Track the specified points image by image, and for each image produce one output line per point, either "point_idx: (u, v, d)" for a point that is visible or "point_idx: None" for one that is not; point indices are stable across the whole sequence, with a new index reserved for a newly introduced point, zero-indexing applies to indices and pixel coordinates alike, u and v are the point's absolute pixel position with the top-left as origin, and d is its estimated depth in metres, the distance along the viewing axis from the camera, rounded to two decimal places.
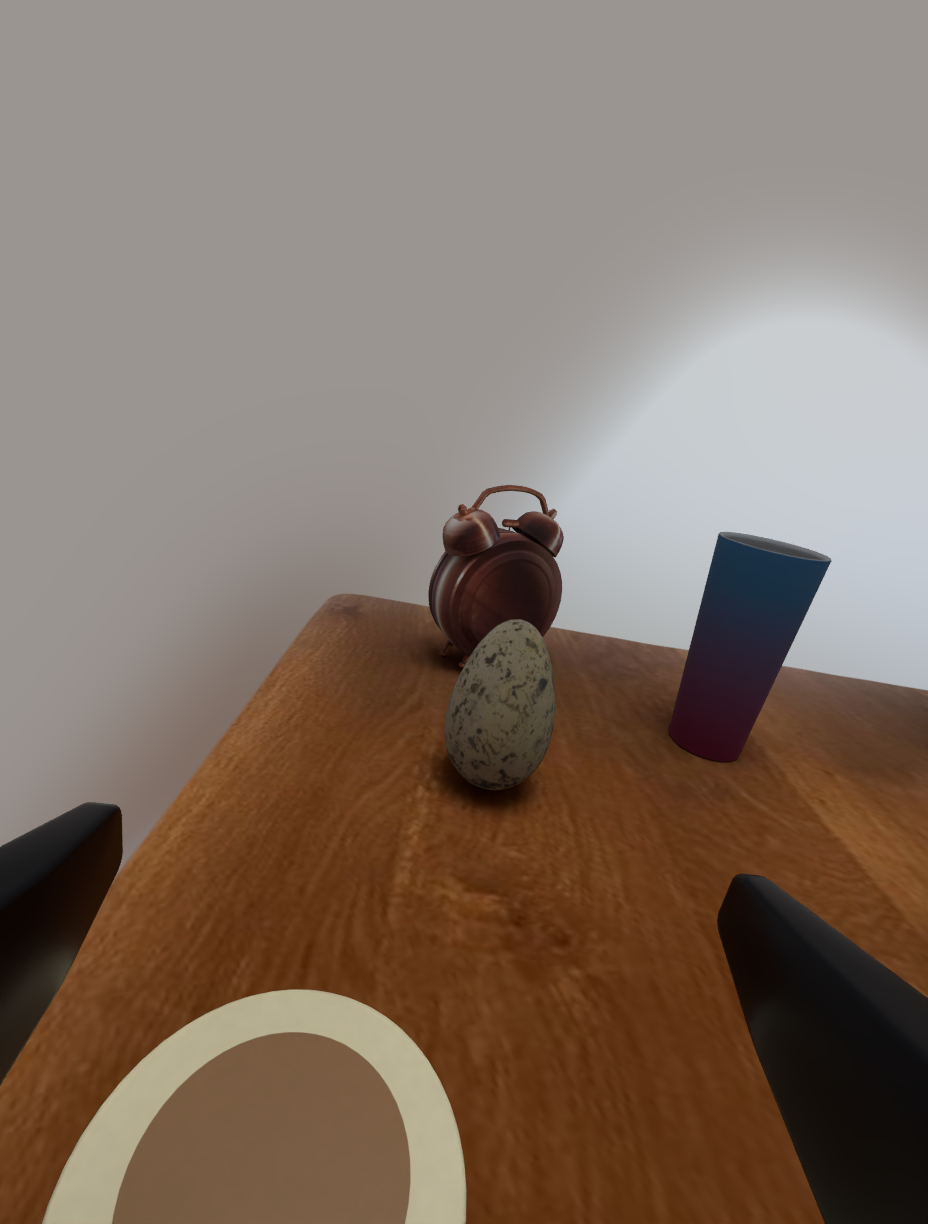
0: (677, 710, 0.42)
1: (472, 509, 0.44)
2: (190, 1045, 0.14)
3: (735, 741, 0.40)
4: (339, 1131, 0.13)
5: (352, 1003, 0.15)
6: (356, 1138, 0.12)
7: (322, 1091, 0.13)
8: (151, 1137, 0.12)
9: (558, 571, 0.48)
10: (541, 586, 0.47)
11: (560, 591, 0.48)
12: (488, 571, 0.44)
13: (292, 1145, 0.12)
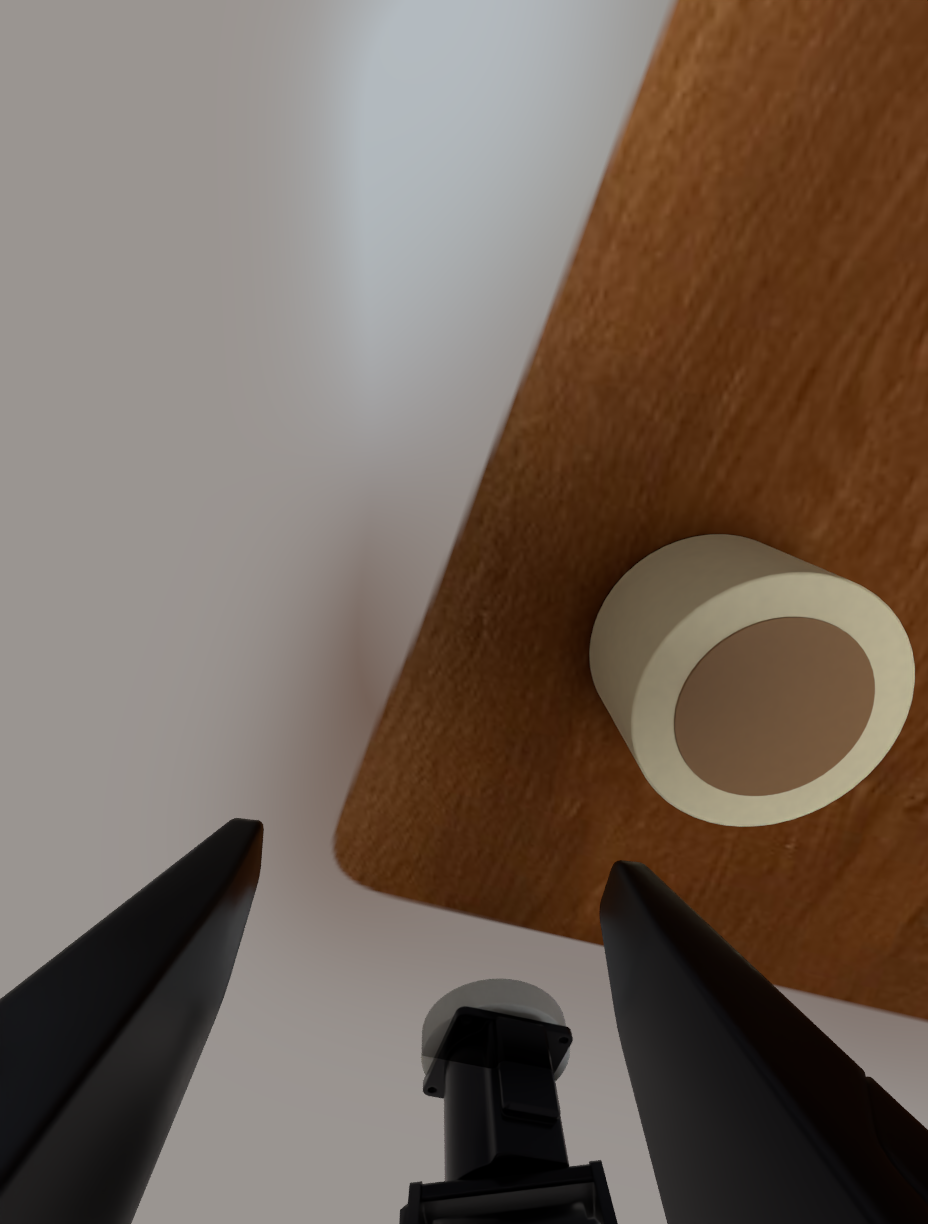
0: None
1: None
2: (733, 608, 0.15)
3: None
4: (825, 697, 0.16)
5: (877, 603, 0.15)
6: (836, 707, 0.16)
7: (824, 671, 0.16)
8: (699, 667, 0.16)
9: None
10: None
11: None
12: None
13: (791, 697, 0.16)
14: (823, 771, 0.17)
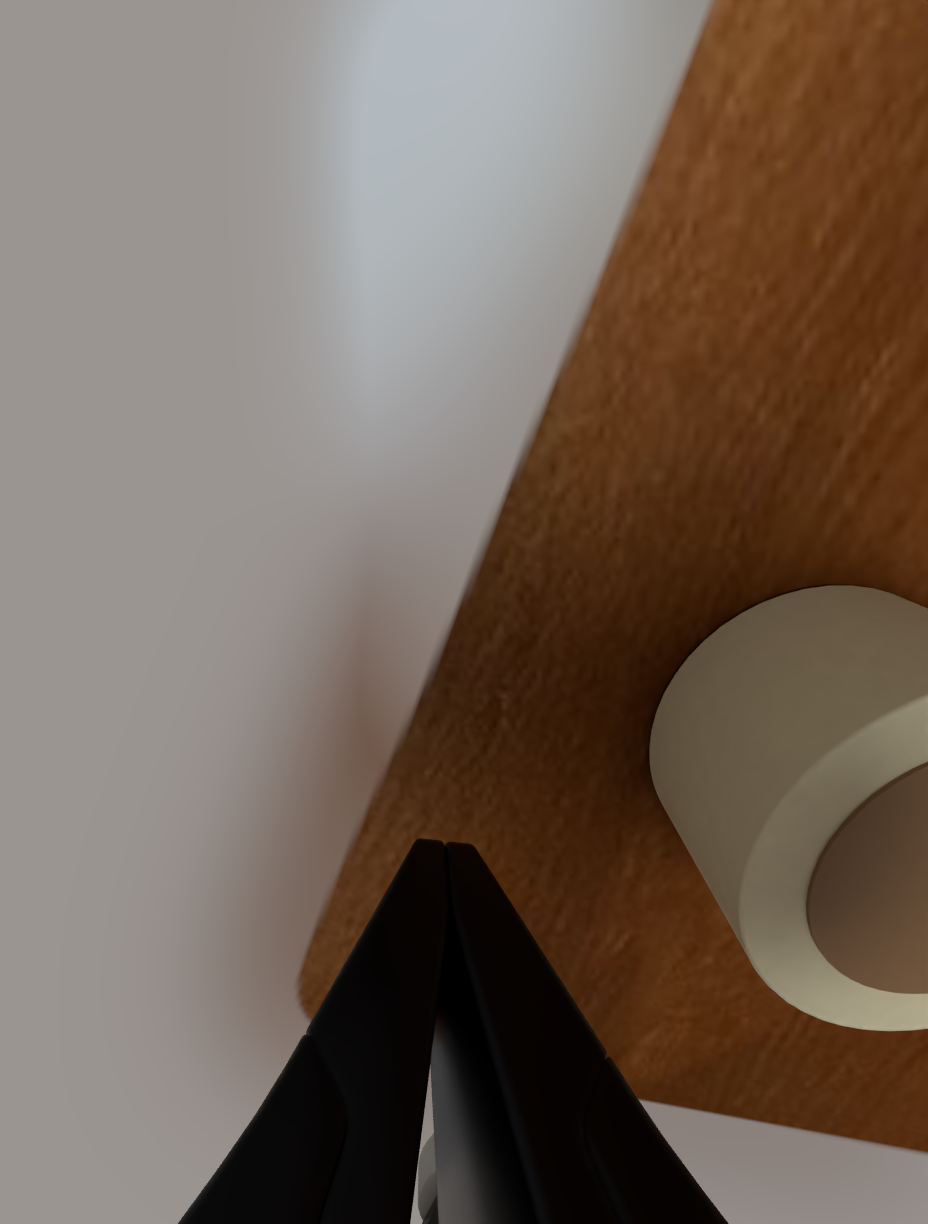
0: None
1: None
2: (920, 730, 0.09)
3: None
4: None
5: None
6: None
7: None
8: (855, 818, 0.10)
9: None
10: None
11: None
12: None
13: None
14: None
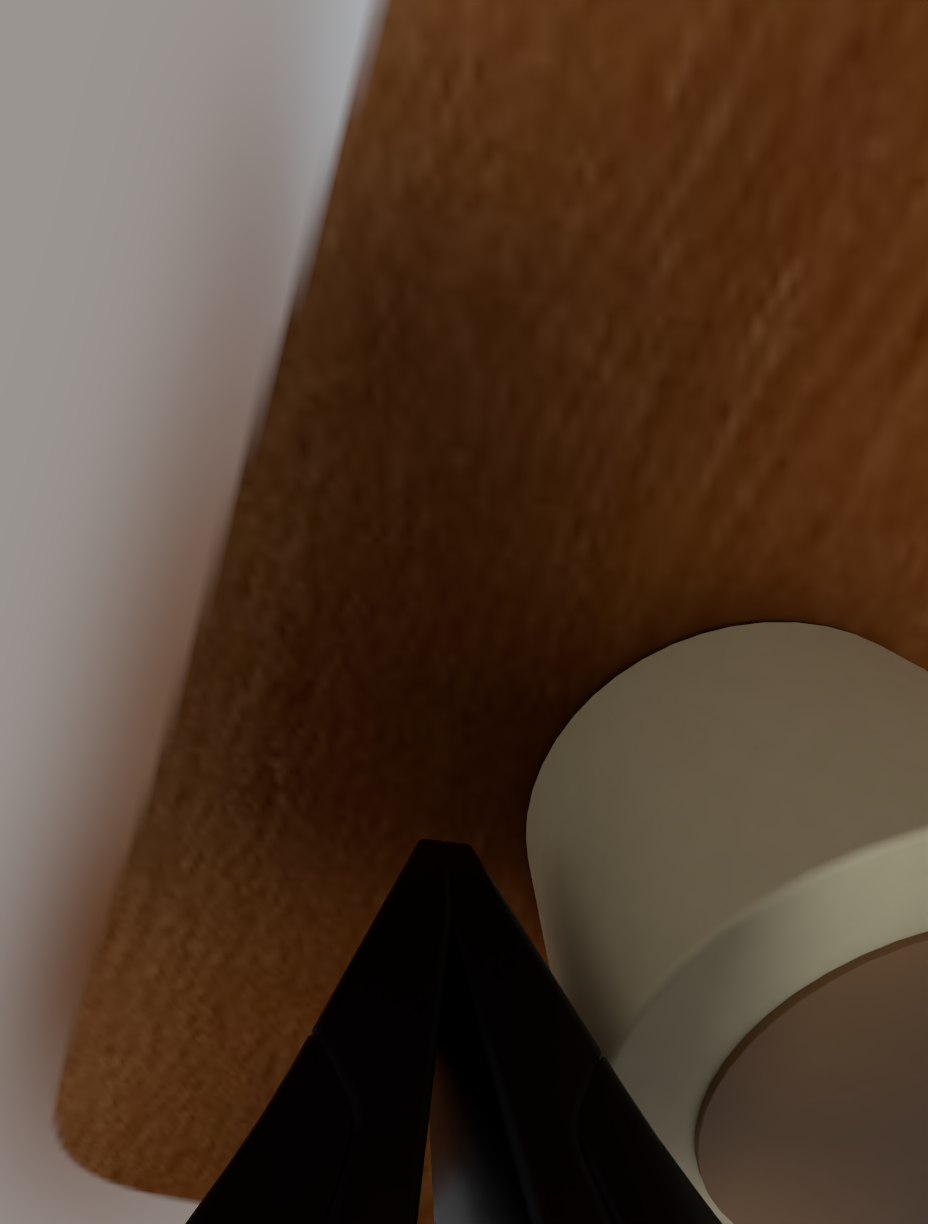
0: None
1: None
2: (872, 897, 0.05)
3: None
4: None
5: None
6: None
7: None
8: (767, 1026, 0.06)
9: None
10: None
11: None
12: None
13: None
14: None
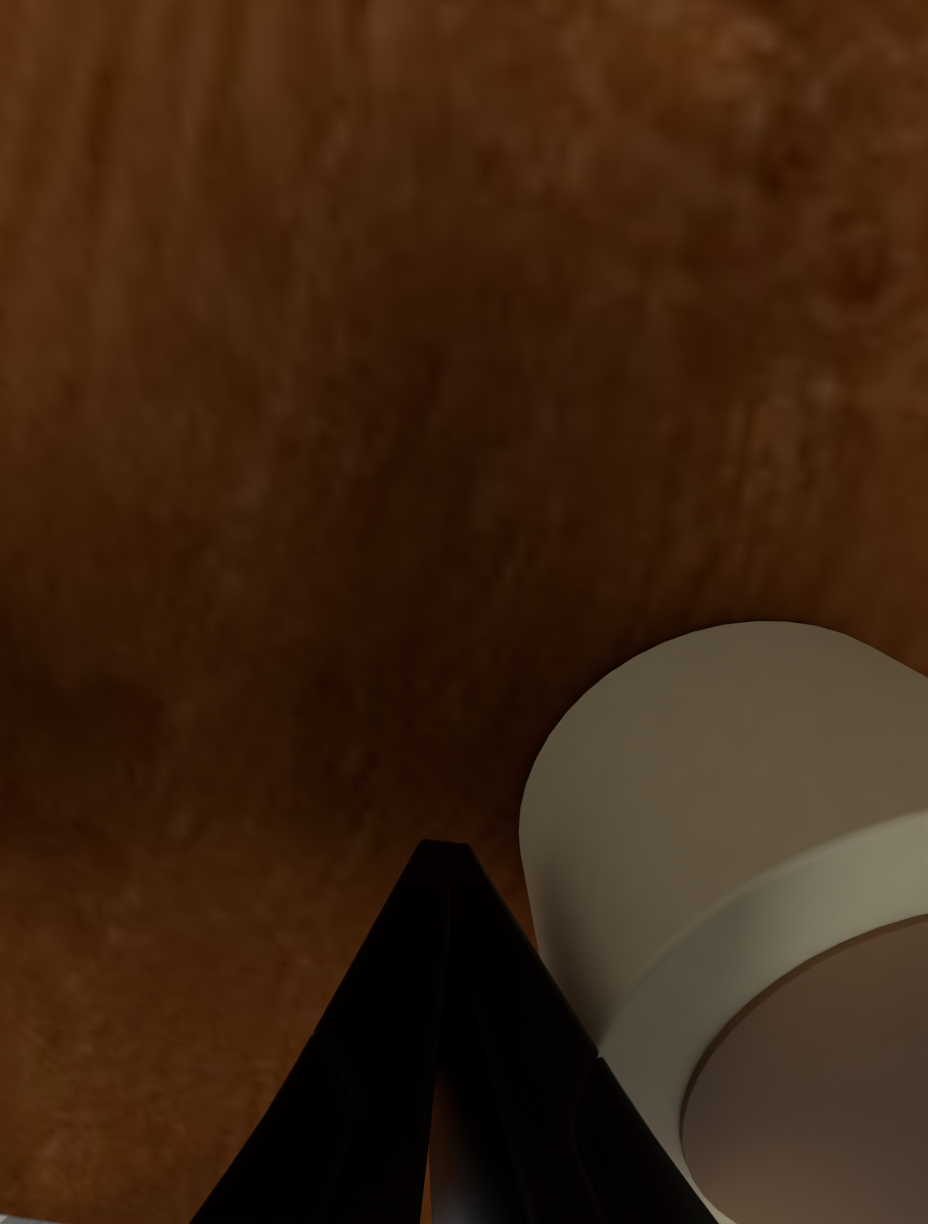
0: None
1: None
2: (853, 884, 0.05)
3: None
4: None
5: None
6: None
7: None
8: (751, 1012, 0.06)
9: None
10: None
11: None
12: None
13: None
14: None
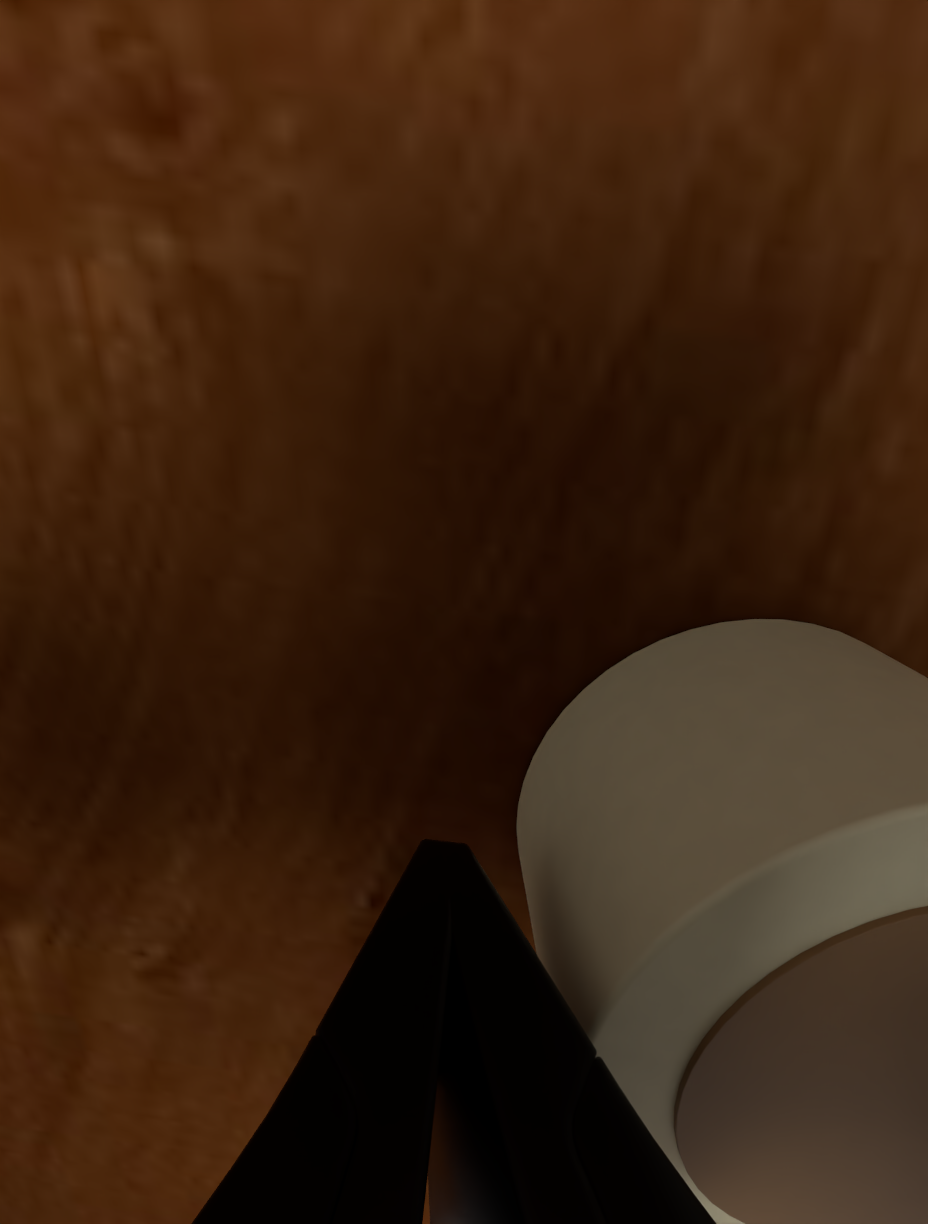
0: None
1: None
2: (845, 878, 0.06)
3: None
4: None
5: None
6: None
7: None
8: (744, 1005, 0.06)
9: None
10: None
11: None
12: None
13: None
14: None
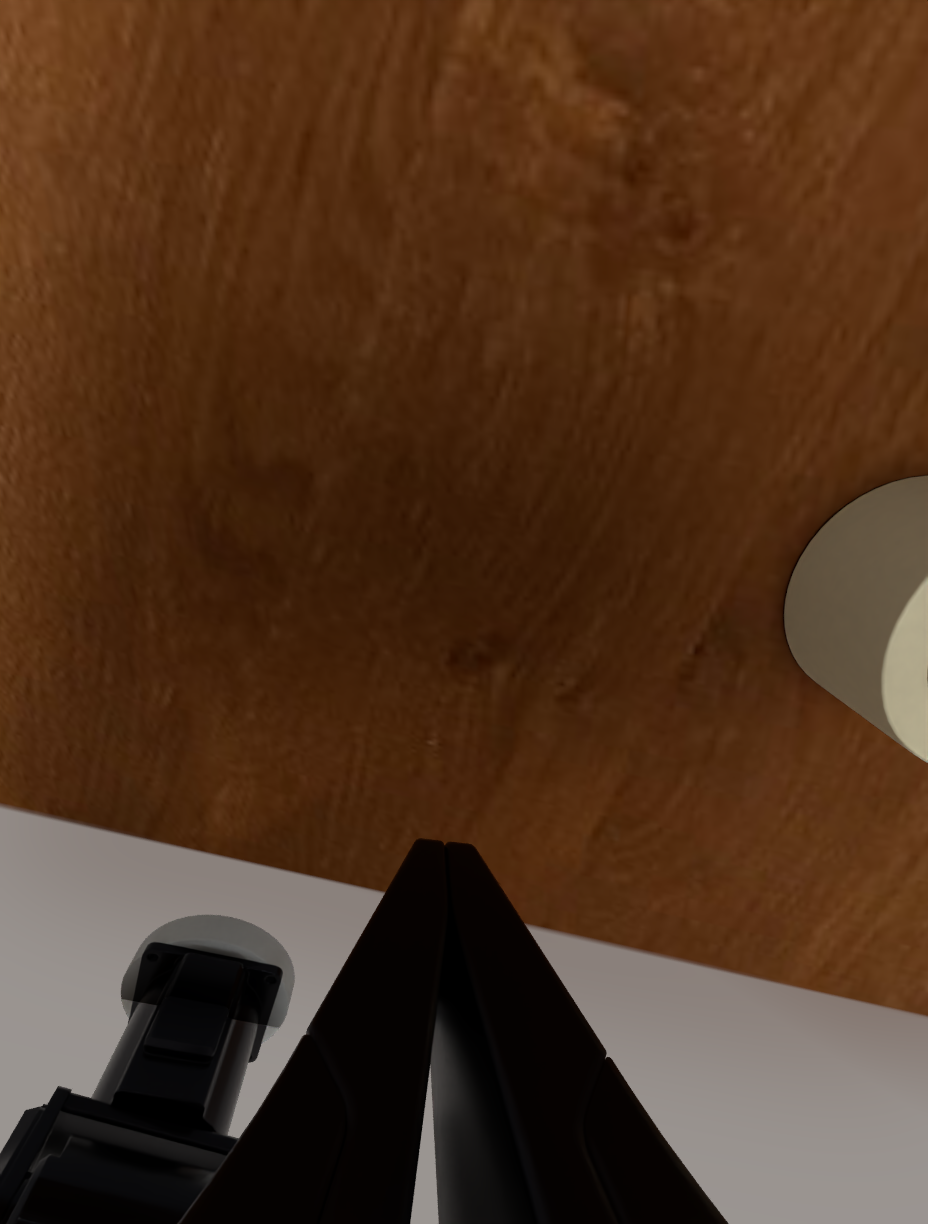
0: None
1: None
2: None
3: None
4: None
5: None
6: None
7: None
8: None
9: None
10: None
11: None
12: None
13: None
14: None
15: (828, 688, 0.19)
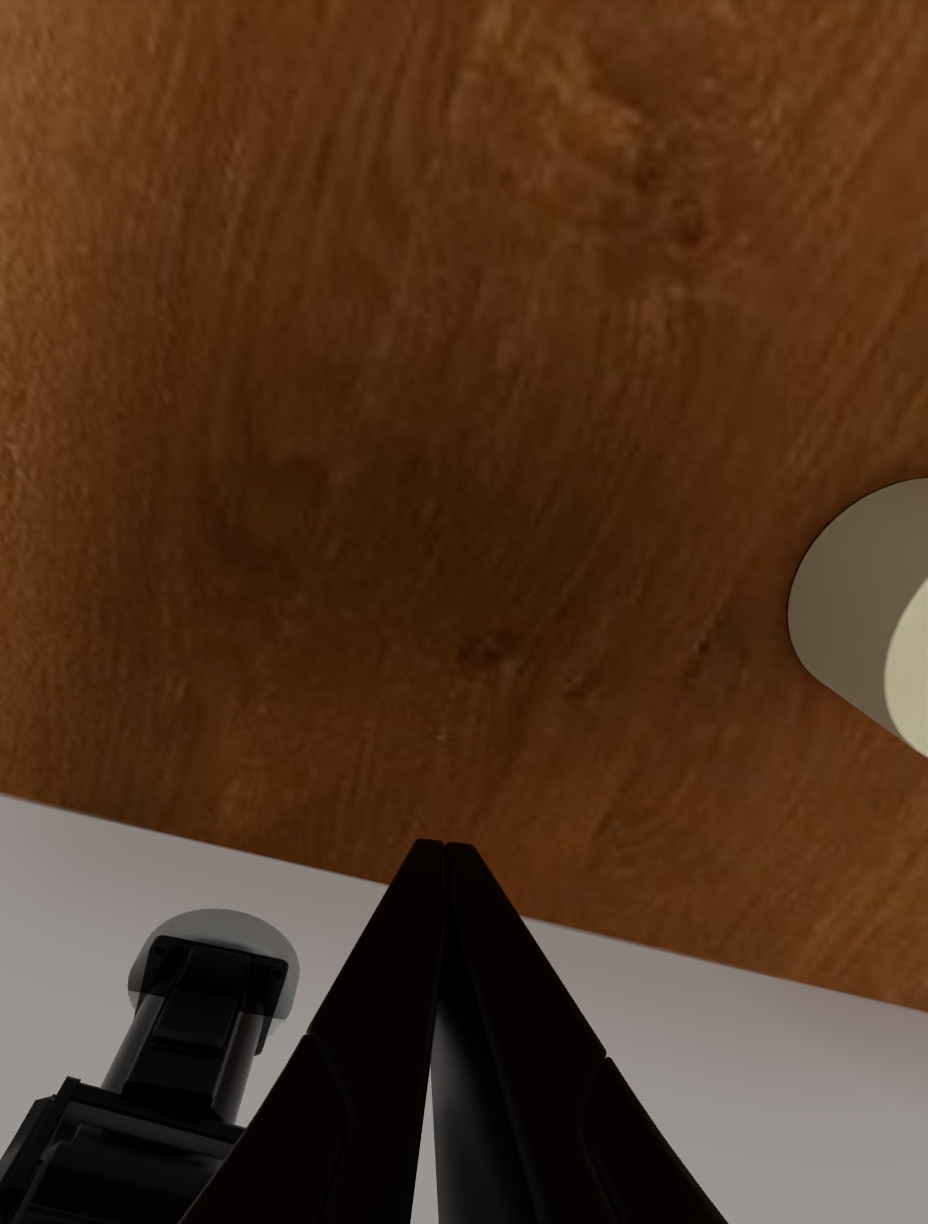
0: None
1: None
2: None
3: None
4: None
5: None
6: None
7: None
8: None
9: None
10: None
11: None
12: None
13: None
14: None
15: (831, 685, 0.20)
